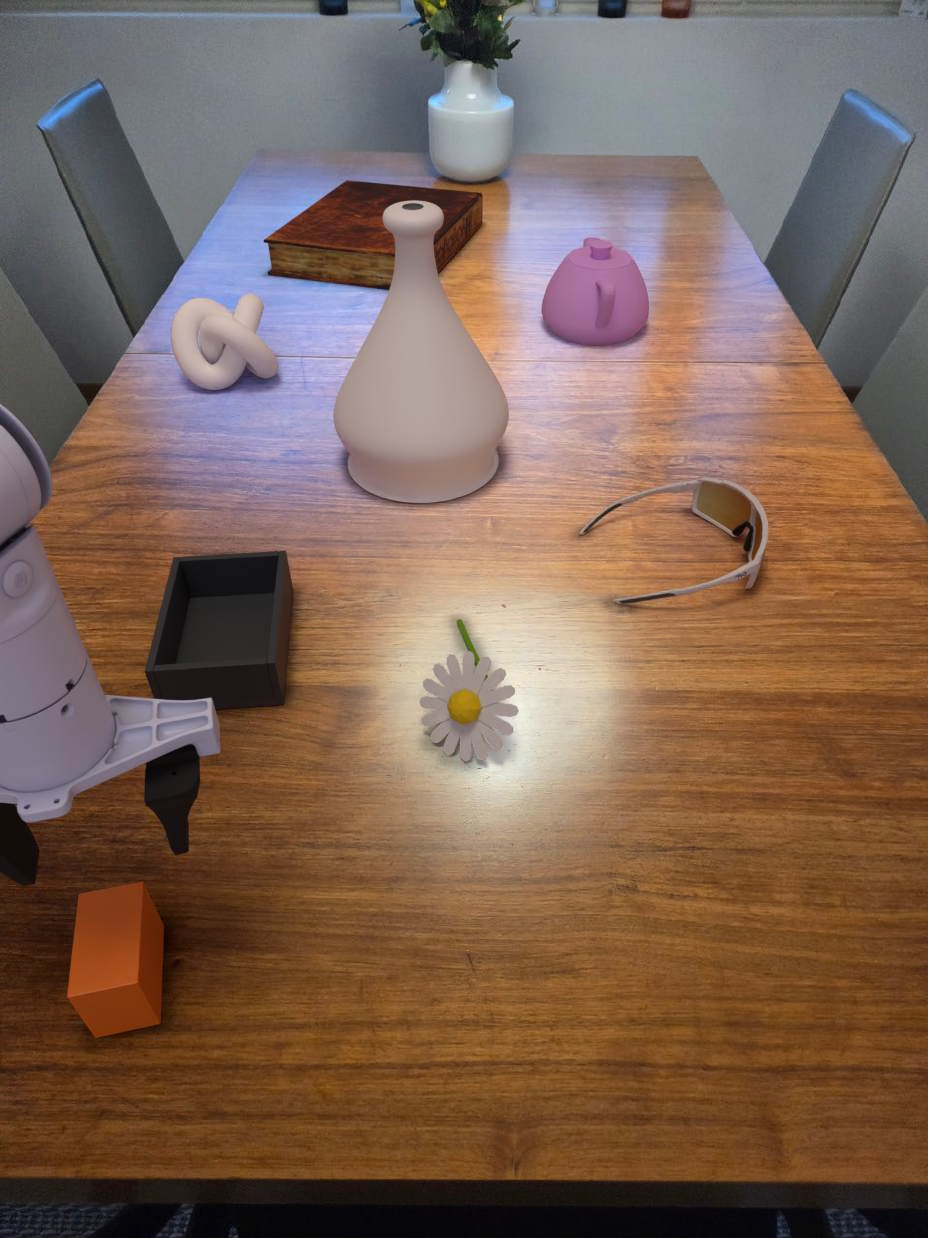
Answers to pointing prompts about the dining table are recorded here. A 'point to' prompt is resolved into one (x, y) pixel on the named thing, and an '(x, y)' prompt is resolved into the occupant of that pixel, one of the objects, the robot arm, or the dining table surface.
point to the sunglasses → (723, 509)
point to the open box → (223, 630)
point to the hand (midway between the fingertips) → (107, 853)
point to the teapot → (596, 295)
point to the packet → (117, 960)
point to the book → (365, 233)
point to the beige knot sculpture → (220, 342)
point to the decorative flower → (468, 704)
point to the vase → (419, 383)
